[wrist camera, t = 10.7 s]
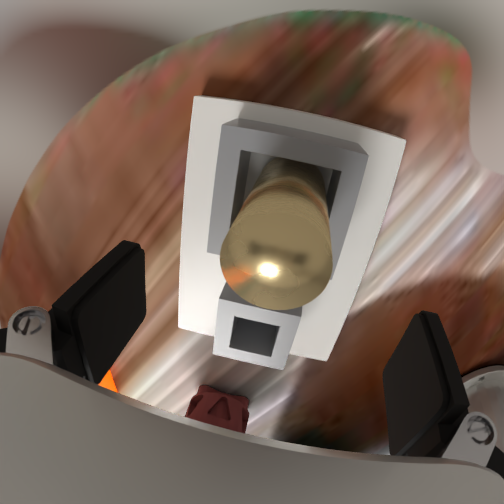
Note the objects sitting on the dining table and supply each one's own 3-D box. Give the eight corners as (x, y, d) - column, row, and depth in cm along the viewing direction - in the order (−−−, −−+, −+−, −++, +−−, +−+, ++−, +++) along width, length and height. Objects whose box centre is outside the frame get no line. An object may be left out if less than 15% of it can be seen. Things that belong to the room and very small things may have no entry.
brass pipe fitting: (331, 162, 20) (346, 226, 11) (316, 223, 22) (316, 319, 13) (263, 148, 20) (225, 201, 12) (253, 210, 22) (215, 297, 14)
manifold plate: (400, 137, 20) (426, 152, 15) (326, 349, 29) (326, 394, 25) (201, 95, 21) (169, 98, 16) (183, 317, 30) (162, 357, 26)
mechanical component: (169, 372, 35) (251, 371, 33) (200, 419, 39) (272, 421, 37) (130, 459, 25) (226, 475, 22) (173, 496, 29) (256, 507, 26)
